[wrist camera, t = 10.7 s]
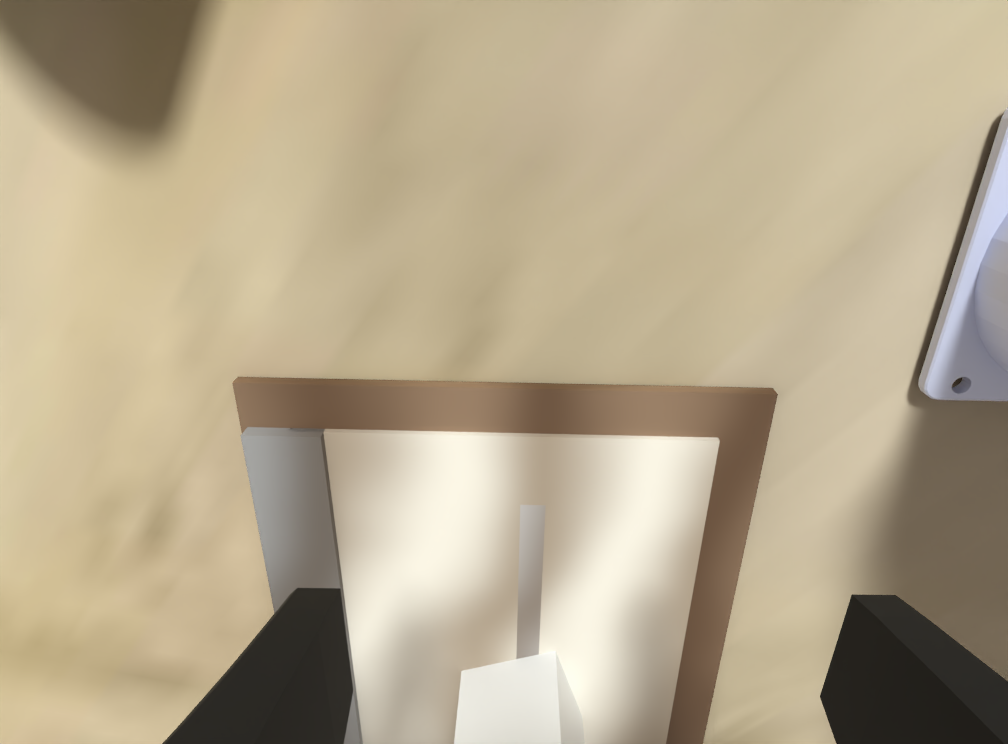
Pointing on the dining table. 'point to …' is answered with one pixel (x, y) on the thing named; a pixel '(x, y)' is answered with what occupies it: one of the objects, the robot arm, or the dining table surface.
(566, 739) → the long rectangular beam
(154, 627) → the dining table surface
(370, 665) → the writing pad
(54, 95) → the dining table surface
